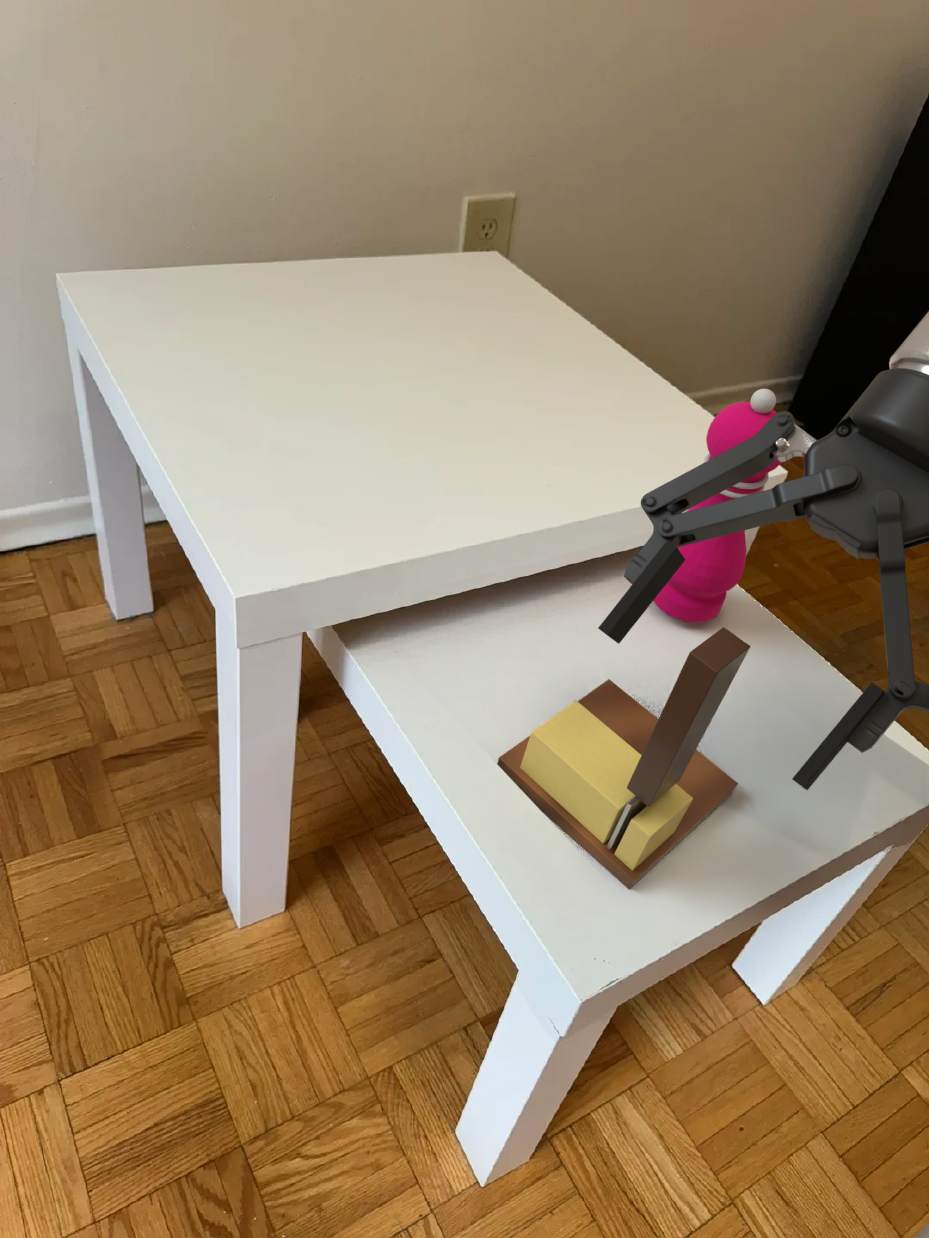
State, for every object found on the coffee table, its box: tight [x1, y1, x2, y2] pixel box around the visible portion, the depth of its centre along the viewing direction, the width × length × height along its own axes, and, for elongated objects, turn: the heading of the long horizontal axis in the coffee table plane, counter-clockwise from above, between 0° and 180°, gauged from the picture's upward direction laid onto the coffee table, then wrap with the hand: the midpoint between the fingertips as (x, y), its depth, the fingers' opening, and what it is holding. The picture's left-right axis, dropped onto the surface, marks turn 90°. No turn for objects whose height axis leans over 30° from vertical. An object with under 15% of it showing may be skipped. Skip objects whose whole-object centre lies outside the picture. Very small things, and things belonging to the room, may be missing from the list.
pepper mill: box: [652, 388, 783, 623], centre depth 74 cm, size 7×7×20 cm
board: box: [496, 678, 739, 890], centre depth 65 cm, size 12×12×2 cm
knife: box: [606, 626, 751, 850], centre depth 55 cm, size 2×5×17 cm, turn 134°
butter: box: [520, 700, 693, 871], centre depth 61 cm, size 10×4×4 cm, turn 44°
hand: (698, 707), depth 53 cm, fingers open, 13 cm apart
